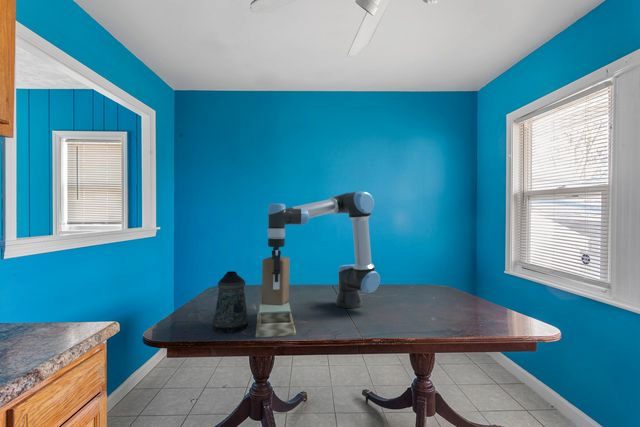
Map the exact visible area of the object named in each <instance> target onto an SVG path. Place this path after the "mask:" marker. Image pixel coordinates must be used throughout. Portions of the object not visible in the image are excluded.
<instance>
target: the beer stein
mask: <svg viewBox="0 0 640 427" xmlns="http://www.w3.org/2000/svg"><path fill="white" fill-rule="evenodd" d="M245 286H246V280H245V279H244V278H242V277H241V276H240V275H239V274H238V273H237V271H234V270H233V271H232V270H231V271H227V272H226V273H225V274H224V275H223V277H222V278H220V280H219V281H218V282H217V287H218V294H217V300H216V301H217V302H216V305H215V306H216V307H215V311H214V315H213V319H212V321H211V324H212V330H213V332H215V333H217V334H224V335H228V334H236V333H241V332H244V331H246V330H247V329H248V328H249V325H250V321H251V318H250V316H249V313H248V310H247V309H248V308H247V302H246V293H245Z"/></svg>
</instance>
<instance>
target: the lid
mask: <svg viewBox="0 0 640 427" xmlns="http://www.w3.org/2000/svg"><path fill="white" fill-rule="evenodd" d="M259 307H260V308H259V310H258V312H259V314H272V313H291V314H292V310H291V306H290V302H288V301H287V302H286V303H285V304H284V305H282V306H279V305H264V304H262V303H259Z"/></svg>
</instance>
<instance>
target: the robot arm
mask: <svg viewBox="0 0 640 427" xmlns="http://www.w3.org/2000/svg"><path fill="white" fill-rule="evenodd" d="M374 208H375V200H374V198H373V195H372V194H370V192H367V191H360V190H359V191H354V192H345V193H341V194H339V195H335V196H331V197H329V198H328V199H325V200H320V201H316V202H310V203H306V204H302V205H301V204H300V205H297V206H292V207H288V208H287V207H286V204H285V203H270V204H269V205H268V209H267V218H268V219H267V221H268V222H267V230H266V233H267V237H268V238H267V247H269V248H272V250H271V257H272V259H274V272H272V274H273V290H275V289H280V257H281V255H282V254H281V253H282V251H281V250H280V248H283V247H285V244H286V243H285V242H286V240H285V237H286V225H287V226H288V225H291V226H292V225H295V226H296V225H297V226H301V225H302V226H303V225H306V224H308V222H309V219H312V218H314V217H315V218H316V217H319V216H320V217H321V216H323V215H324V216H325V215H329V214H332V215H337V214H348V218H349V219H350V221H351V224H352V225H351V226H352V234H353V245H354V246H353V250H354V259H355V260H354V261H355V264H343V265H339V267H338V272H337V273H338V291H337V292H338V293H337V294H336V298H335V304H334V305H335V306H336V307H339V308H344V309H357V308H360V307H361V306H362V305H363V304H362V298H361V295H360V292H363V293H373V292H375V291H376V290H377V289H378V287H379V285H380V282H381V276H380V274H379V272H377V271H376V268H375V265H374V263H372V252H371V242H370V241H371V239H370V227H369V218H370V217H371V216H372V215H371V214H372V212H373V211H374ZM359 291H360V292H359Z"/></svg>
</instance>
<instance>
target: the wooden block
mask: <svg viewBox="0 0 640 427" xmlns="http://www.w3.org/2000/svg"><path fill="white" fill-rule="evenodd" d="M261 262H262V264H261V304H264V305H279V306H282V305H284V304H285V303H286V302H288V301H289V300H290V258H289V257H287V256H280V289H275V290H273V274H272V272H274V259H272V256H269V257H266V258H263V259H262V261H261Z"/></svg>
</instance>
